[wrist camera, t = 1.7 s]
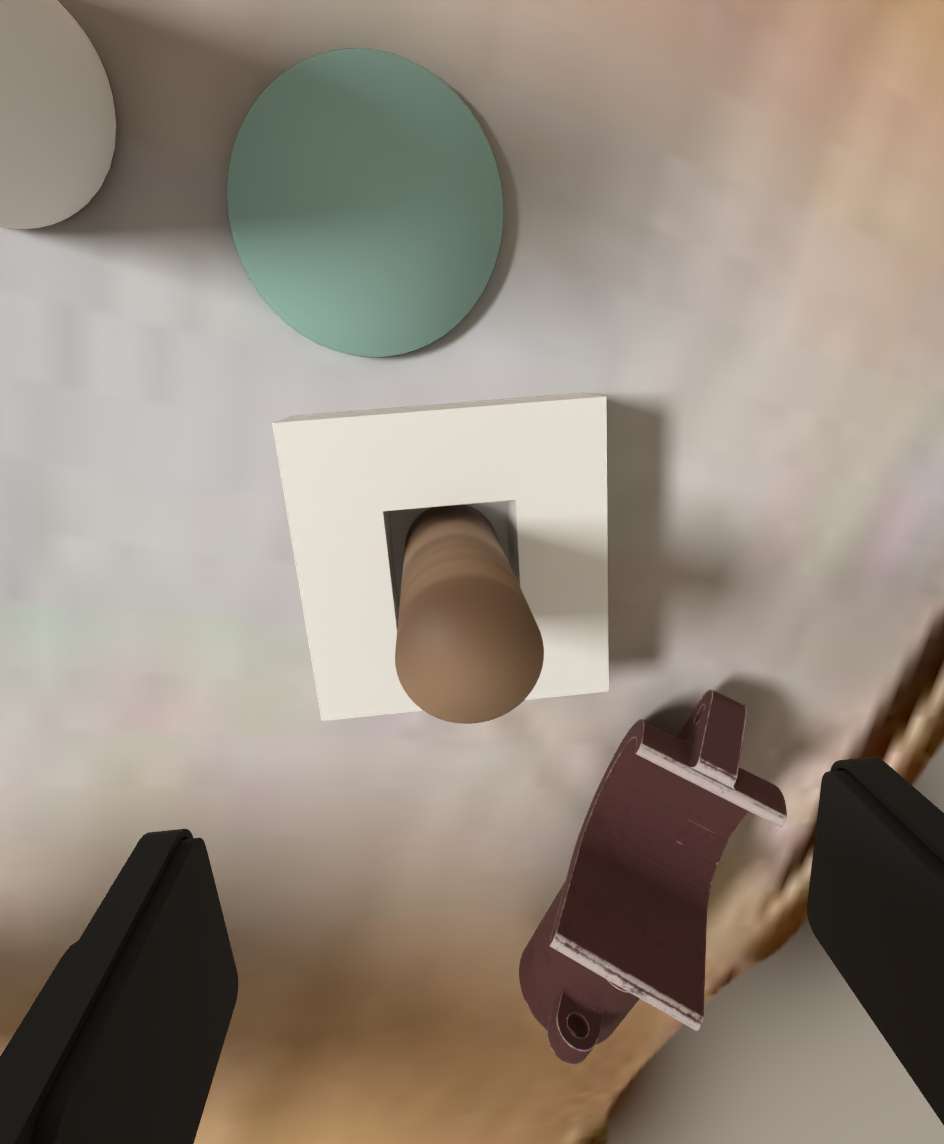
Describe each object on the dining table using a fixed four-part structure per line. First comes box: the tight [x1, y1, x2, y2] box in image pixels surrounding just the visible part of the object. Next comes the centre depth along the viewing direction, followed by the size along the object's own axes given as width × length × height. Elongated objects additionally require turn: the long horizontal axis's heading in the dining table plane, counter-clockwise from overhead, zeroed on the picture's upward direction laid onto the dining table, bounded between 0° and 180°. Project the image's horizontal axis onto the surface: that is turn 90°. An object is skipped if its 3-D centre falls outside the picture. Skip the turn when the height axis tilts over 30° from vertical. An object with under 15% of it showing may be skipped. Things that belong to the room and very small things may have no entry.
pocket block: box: [272, 393, 609, 721], centre depth 26 cm, size 12×12×4 cm
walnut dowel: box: [395, 504, 544, 724], centre depth 22 cm, size 4×4×11 cm
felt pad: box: [227, 49, 503, 357], centre depth 24 cm, size 10×10×1 cm
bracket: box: [519, 690, 787, 1064], centre depth 29 cm, size 6×17×10 cm, turn 163°
